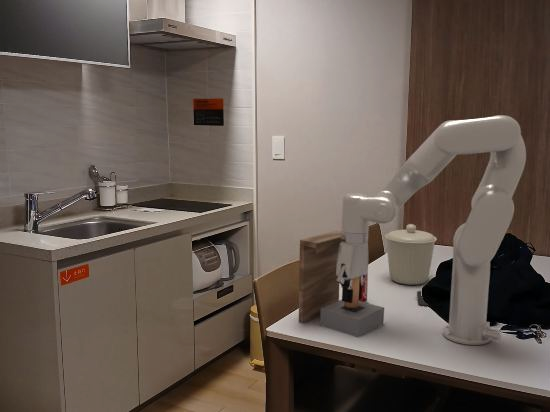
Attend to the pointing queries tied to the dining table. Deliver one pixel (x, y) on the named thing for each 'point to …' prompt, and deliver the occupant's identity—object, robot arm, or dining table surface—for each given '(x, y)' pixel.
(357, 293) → the peg
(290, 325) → the dining table surface
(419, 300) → the phone
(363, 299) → the soda can
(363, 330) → the socket block
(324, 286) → the wooden board
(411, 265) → the canister
